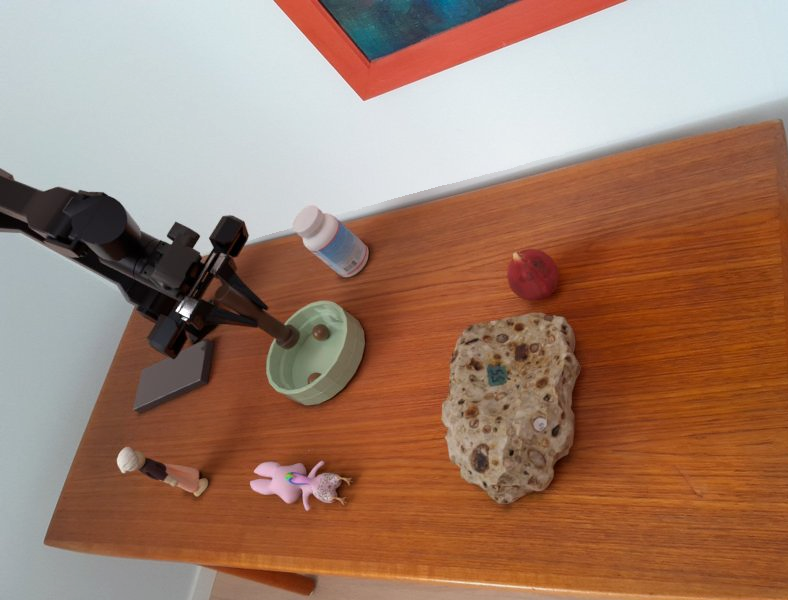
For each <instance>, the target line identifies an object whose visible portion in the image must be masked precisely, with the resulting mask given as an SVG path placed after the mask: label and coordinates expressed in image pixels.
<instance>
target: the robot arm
mask: <svg viewBox="0 0 788 600" xmlns="http://www.w3.org/2000/svg"><path fill="white" fill-rule="evenodd" d="M140 227H141V226H140V225H139V224H138V223H137V222H136V220H135V219H134V218H133V217H132V215H131V214H130V213H129V211H128V210H127V209H126V208H125V206H124V205H123V204H122V203H121V201H119V200H118V199H116V198H115V197H114V196H113V197H112V196H110V195H109V194H107V193H106V192H104V191H87V190H82V189H79V190H78V191H75V190H72V189H69V188H66V187H62V186H55V187H52V188H50V189H46V190H43V189H42V190H41V189H38V188H36V187H33V186H30V185H28V184H25V183H23V182H20V181H18V180H15V178H14V174H11V173H10V172H8V171H6V170H5V169H3V168H1V167H0V233H8V234H9V233H10V234H21V235H24V236H26V238H29V239H31V240H33V241H35V242H37V243H38V244H40V245H42V246H44V247H46V248H48V249H50V250H51V251H53V252H55V253H57V254H59V255H61V256H62V257H64V258H66V259H68V260H70V261H71V262H74V263H75V264H77V265H79V266H81V267H83V268H85V269H86V270H88V271H90V272H92V273H94V274H95V275H97V276H99V277H101V278H102V279H105V280H106V281H108V282H110V283H111V284H114V285H116V286H117V288H118V290H119V291H120V293H121V295H122V296H123V298H124V299H125V301H126V302H127V303H128V304H130V305H132V306H134V307H135V310H134V311H135V312H137V314H139V315H140V316H141V317H142V318H144V319H145V320H147V321H149V322H151V323H154V325H153V327H152V329H151V330H150V332H149V333H148V335H147V337H145V339H146V341H147V344H148V346H150V347H151V348H152V349H153V350H155V351H157V352H158V353H160V354H161V355H163V356H166V357H167V358H168V357H170V358H172V359H175V358H176V357H177V356H178V355H179V353H180V351H182V350H183V348H184V346H185V345H186V343H187V342H188V340H189V341H190V344H191V345H192V346H193V345H195V344H197V343H199V342H200V340H201V339H203V338H204V337H205V336H206V335H207V334H208V333H210V332H211V330H212V329H214V328H215V327H216V326H217V325H227V326H238V327H246V328H254V329H258V328H259V327H258V326H259V325H258V323H256V322H254V321H252V320H250V319H248V318H246V317H244V316H241V315H239V314H238V313H236V312H234V311H230V310H227V309H225V308H223V307H220V306H217V304H216V299H213V298H211V299H210V300H208V301H207V300H205V299H203V297H204V295H205V294H206V292H207V290H208V288H209V287H210V285H211V283H212V282H213V280H214V279H216V280H219V281H220V283H221V286H222V285H223V284H227V285H229V286H230V287H232V288H233V289H235V290H236V291H238V292H239V293H240V294H242V295H243V296H245V297H246V298H247V299H249V300H250V301H252V302H253V303H255V304H256V305H257V306H259V307H260V308H262V309H263V310H265V311H266V312H268V311H269V309H270V308H269V306H268V305H267V303H265V302H264V301H263V300H262V299H261V298H260V297H259V296H258V295H257V294H256V293H255V292H254V291H253V290H252V289H251V288H250V287H249V286H248V285H247V284H246V283H244V281H243V280H242V279H241V278H240V277H239V275H238V273H236V272H237V271H238V267H237V265H236V262H235V259H234V258H237V257H239V255H240V254H241V252H242V250H243V249H244V247H245V245H246V244H247V242H248V239H249V237H250V234H249V232H248V228H247V225H246V222H245V221H244V220H243V219H240V218H238V217H236V216H234V215H232V214H228V215H227V214H226V215H222V216H221V217H220V219H219V221H218V223H217V224H216V226H215V227H214V229H213V230H212V232H211V234H210V235H209V236H208V239H209V242H210V244H211V246H212V249H211V251H210V253H209V254H208V256H207V258H206V259H205V261H202V260H203V256H202V255H201V251H198V250H197V249H195V246H196V244H197V243H198V242H199V240H200V238H201V235H200V234H199V233H198V232H197V231H195V230H193V229H192V228H190V227H188V226H186V225H184V224H182V223H180V222H178V221H174V223H173V225H172V226H171V228H170V229H169V230H168V232H167V234H166V237H167V238H168V239H169V240H170V241H171V243H168V242H167V241H164V240H162V239H158V238H156V237H155V236H153V235H151V234H149V233H147V232H145V231H143V230H142V229H141V228H140ZM187 333H188V335H187ZM188 336H189V337H188Z"/></svg>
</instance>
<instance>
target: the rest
mask: <svg viewBox="0 0 788 600" xmlns="http://www.w3.org/2000/svg"><path fill="white" fill-rule="evenodd" d="M214 346H215V342H214V341H213V340H211V339H210V338H205V339H203V340H201V341H198V342H197V343H196V344H194V345H193V344H192V345H190V346H189V347H186V348H185V349H182V350H181V351H180V353H179V355H178V356H177V357H176V358H175V359H172V358H170V357H168V356H167V357H166V358H163V359H161V360H159V361H157V362H155V363H153V364H150V365H148V366H147V367H145V368H143V369H141V373H140V375H139V376H140V377H139V380H138V381H139V382H138V386H137V390H136V394H135V398H134V403H133V407H132V410H133V411H134V412H137V413H139V414H142V413H144V412H146V411H148V410H151V409H153V408H155V407H157V406H160V405H162V404H165V403H167V402H169V401H171V400H173V399H175V398H178V397H180V396H183V395H185V394H187V393H189V392H191V391H193V390H197V389H198V388H200V387H202V386H205V385H208V383H209V377H210V369H211V364H212V357H213V351H214Z"/></svg>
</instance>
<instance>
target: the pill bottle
mask: <svg viewBox="0 0 788 600" xmlns="http://www.w3.org/2000/svg"><path fill="white" fill-rule="evenodd" d="M292 230H293V232H294V233H296V234H297V236H299V237H301V238H302V243H303V246H305V248H306V249H308V250H309V251H310V252H311V253H312V254H313V255H315V257H317V258H318V259H319V260H321V261H322V262H323V263H324V264H326V266H328V267H329V268H330V269H332V270H333V271H334V272H335V273H336V274H338V275H339V276H340V277H343V278H351V277H353V276H355V275H357V274H358V273H359V272H361V271H362V270H363V269H364V268H365V266H366V264H367V262H368V259H369V254H370V253H369V247H368V246H367V245H366V244H365V242H363V241H362V240H361V239H360V238H359V237H358V236H357V235H356V234H354V233H353V232H352V231H351V230H350V229H349V228H348V227H347V226H346V225H345V224H344V223H343V222H341V220H339V219H338V218H337V217H336V216H335V215H333V214H331V213H328V212H325V213H324V212H323V211H322V210H321V209H320V208H319V207H318V206H316V205H313V204H311V205H307V206H305V207H304V208H303V209H301V210H300V211H299V212H298V213H297V215H296V216H295V218H294V219H293V222H292Z"/></svg>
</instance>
